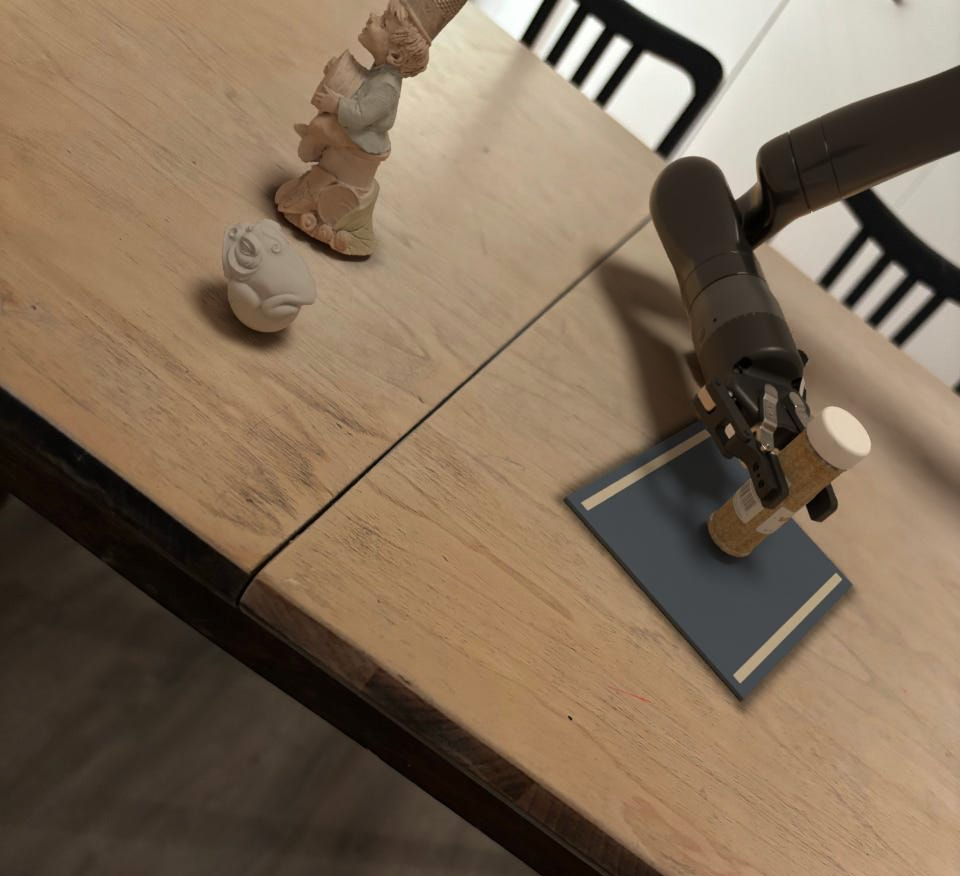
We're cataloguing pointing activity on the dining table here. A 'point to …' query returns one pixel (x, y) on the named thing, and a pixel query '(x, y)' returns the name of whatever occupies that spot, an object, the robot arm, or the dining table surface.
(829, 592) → the napkin
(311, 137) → the figurine
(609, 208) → the dining table surface
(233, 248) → the frog figurine
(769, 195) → the robot arm
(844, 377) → the dining table surface
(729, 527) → the sprinkles bottle
